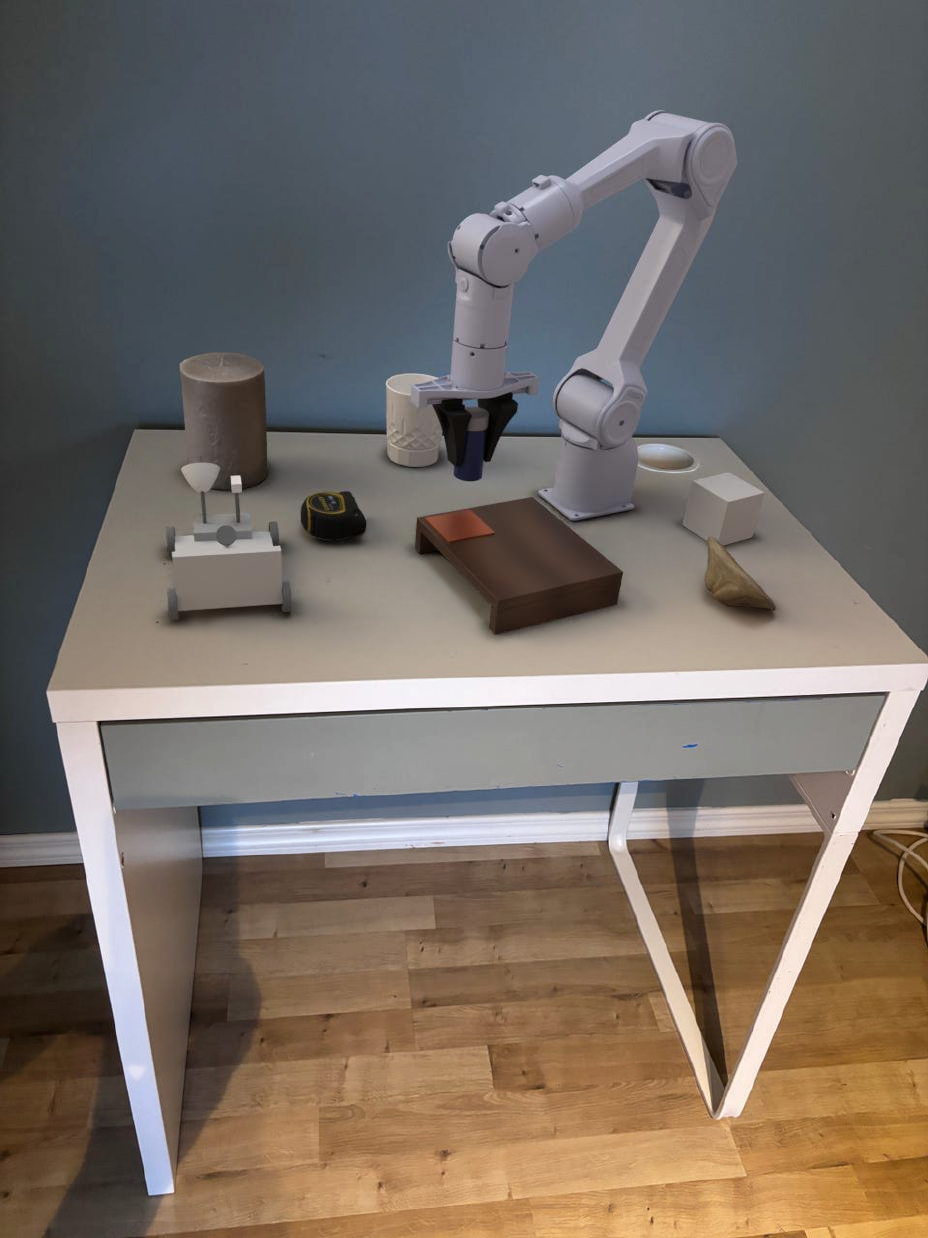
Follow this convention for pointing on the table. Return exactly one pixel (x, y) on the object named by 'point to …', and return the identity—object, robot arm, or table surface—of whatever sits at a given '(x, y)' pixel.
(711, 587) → the samosa
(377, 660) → the table surface
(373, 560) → the table surface
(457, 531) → the desk shelf
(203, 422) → the pillar candle
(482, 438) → the glue stick
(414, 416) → the white cup
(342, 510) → the tape measure
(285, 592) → the toy car
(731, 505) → the white cube
